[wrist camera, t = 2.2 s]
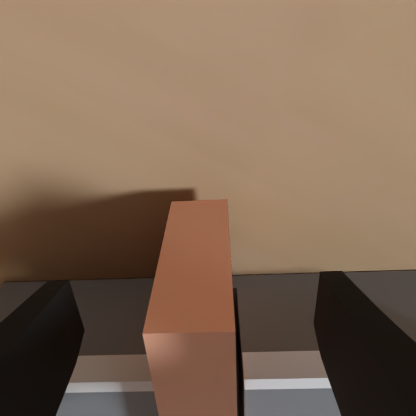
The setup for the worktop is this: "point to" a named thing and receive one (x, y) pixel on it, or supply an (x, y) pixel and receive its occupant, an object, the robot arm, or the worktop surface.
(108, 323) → the dispenser
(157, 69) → the worktop surface
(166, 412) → the salmon pink slab
